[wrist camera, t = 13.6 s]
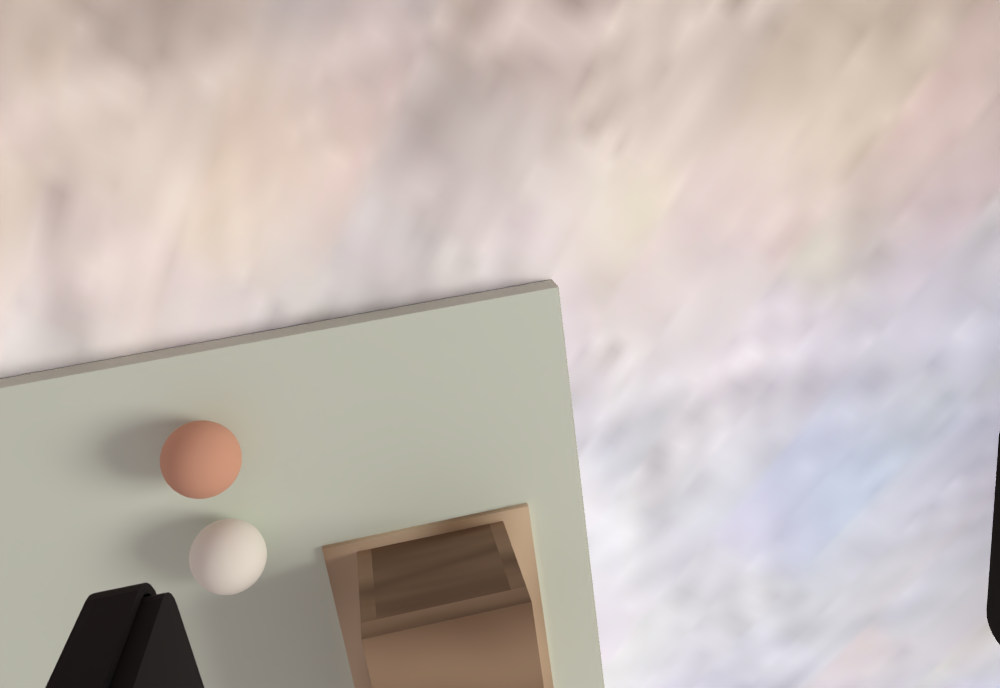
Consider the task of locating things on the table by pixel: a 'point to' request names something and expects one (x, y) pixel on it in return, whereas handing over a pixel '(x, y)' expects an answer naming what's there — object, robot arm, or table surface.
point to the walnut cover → (448, 613)
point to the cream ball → (227, 556)
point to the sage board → (293, 478)
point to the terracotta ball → (200, 459)
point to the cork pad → (344, 553)
